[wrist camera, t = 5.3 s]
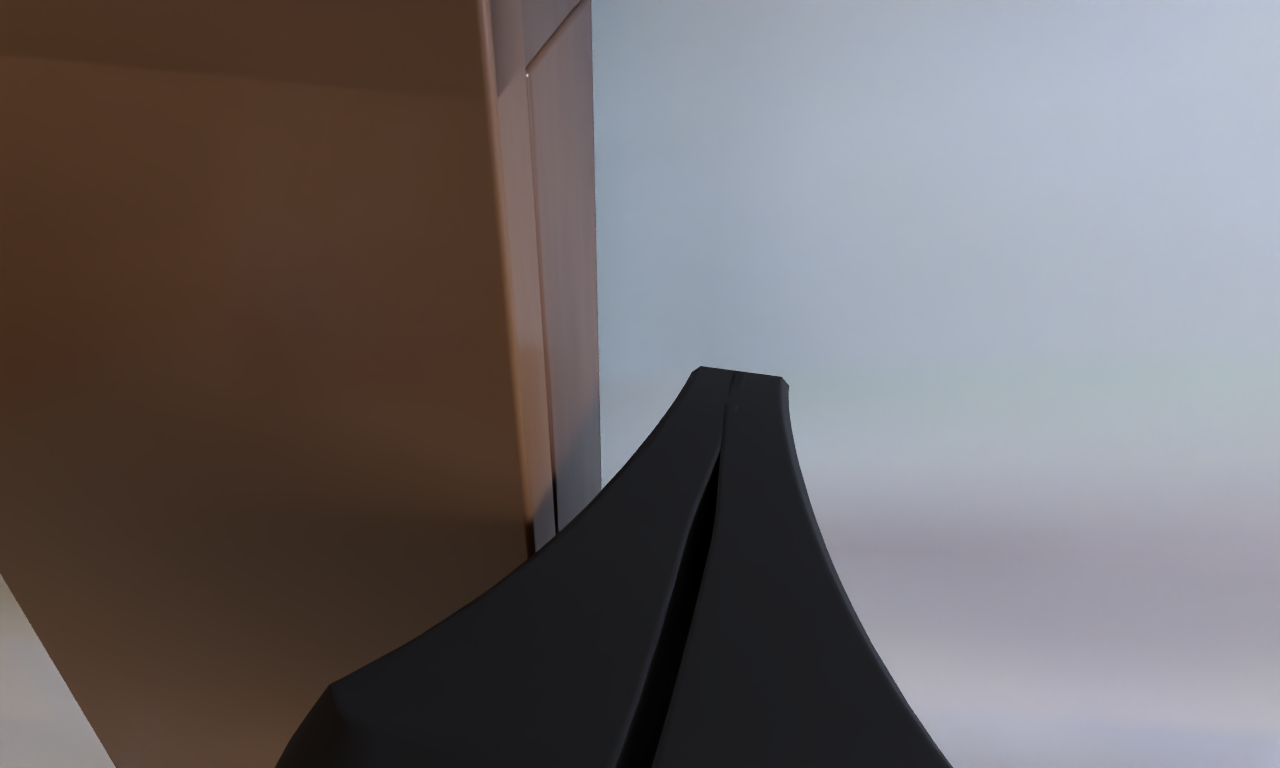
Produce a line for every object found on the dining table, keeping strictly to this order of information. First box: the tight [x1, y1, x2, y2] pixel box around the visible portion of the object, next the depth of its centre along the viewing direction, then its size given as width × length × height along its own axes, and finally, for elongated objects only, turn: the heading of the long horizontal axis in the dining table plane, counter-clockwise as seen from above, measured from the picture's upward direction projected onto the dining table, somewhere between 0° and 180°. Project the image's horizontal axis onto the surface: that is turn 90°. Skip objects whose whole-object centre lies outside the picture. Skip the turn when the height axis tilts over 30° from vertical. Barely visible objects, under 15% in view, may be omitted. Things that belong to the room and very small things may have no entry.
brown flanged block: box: [0, 0, 601, 768], centre depth 13 cm, size 14×7×5 cm, turn 179°
